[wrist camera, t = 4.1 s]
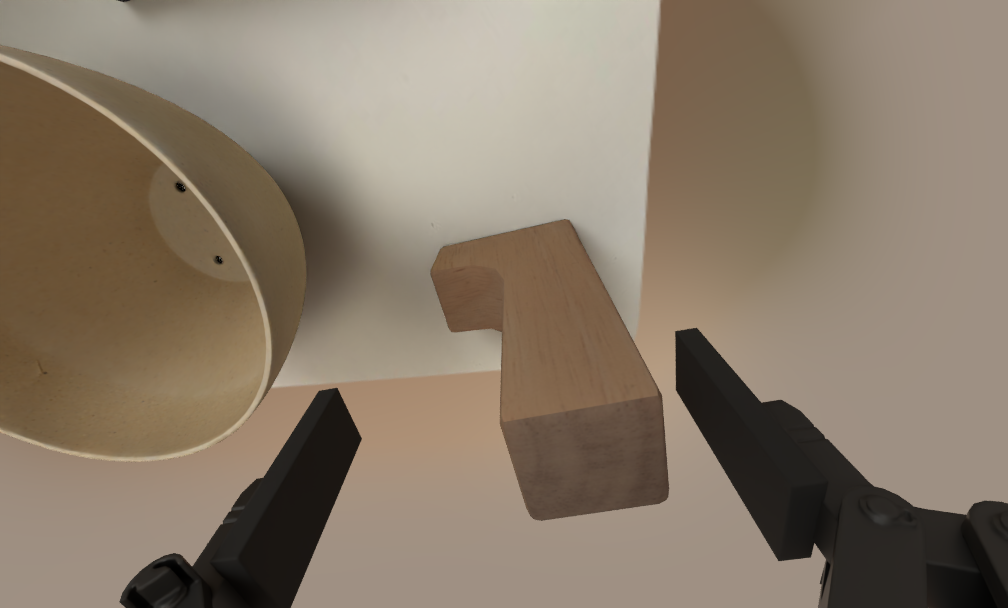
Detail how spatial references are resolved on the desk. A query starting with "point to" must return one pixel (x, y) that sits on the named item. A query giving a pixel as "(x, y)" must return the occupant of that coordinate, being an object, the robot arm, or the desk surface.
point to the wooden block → (560, 371)
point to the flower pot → (133, 269)
